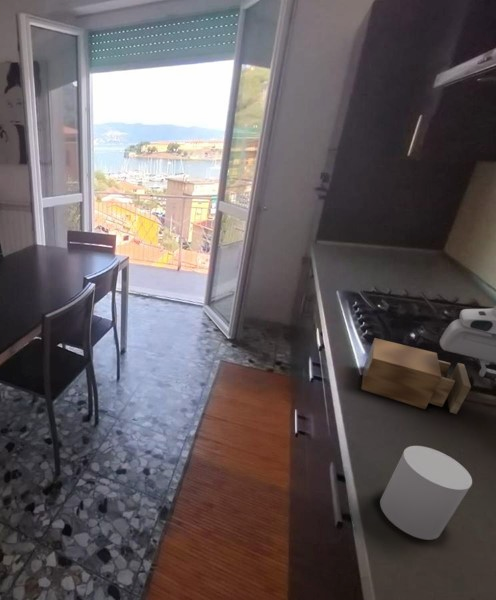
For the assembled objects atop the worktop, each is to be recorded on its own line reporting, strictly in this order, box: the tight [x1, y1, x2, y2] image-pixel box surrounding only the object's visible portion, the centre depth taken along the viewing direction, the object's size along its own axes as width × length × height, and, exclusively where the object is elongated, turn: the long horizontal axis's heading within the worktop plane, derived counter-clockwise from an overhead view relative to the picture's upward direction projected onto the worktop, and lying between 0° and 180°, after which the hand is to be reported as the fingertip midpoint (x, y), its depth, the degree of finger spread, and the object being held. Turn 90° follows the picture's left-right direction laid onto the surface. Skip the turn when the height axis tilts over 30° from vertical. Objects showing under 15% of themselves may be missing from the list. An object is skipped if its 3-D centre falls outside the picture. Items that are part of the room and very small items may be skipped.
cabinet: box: [360, 337, 441, 410], centre depth 90 cm, size 13×12×10 cm
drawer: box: [428, 359, 472, 415], centre depth 86 cm, size 13×10×8 cm
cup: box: [379, 445, 473, 541], centre depth 59 cm, size 8×8×12 cm
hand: (487, 377), depth 82 cm, fingers closed
